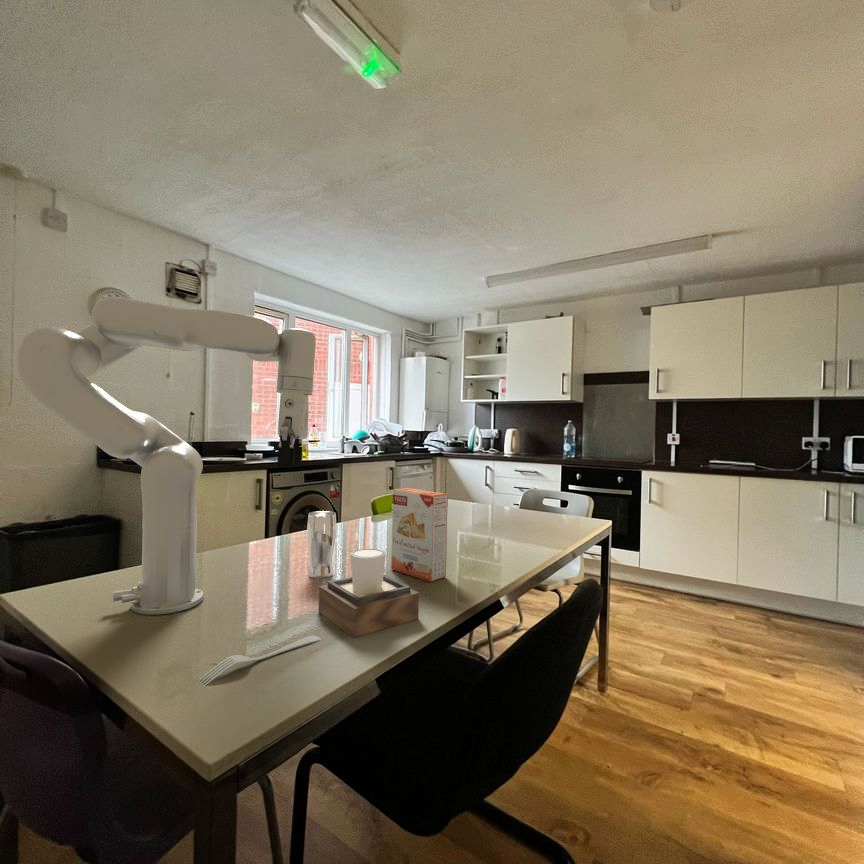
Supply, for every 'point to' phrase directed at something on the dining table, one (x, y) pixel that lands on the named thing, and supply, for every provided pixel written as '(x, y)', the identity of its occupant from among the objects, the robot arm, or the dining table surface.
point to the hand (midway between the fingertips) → (289, 465)
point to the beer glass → (321, 543)
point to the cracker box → (419, 533)
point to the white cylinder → (367, 570)
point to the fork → (240, 658)
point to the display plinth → (368, 606)
